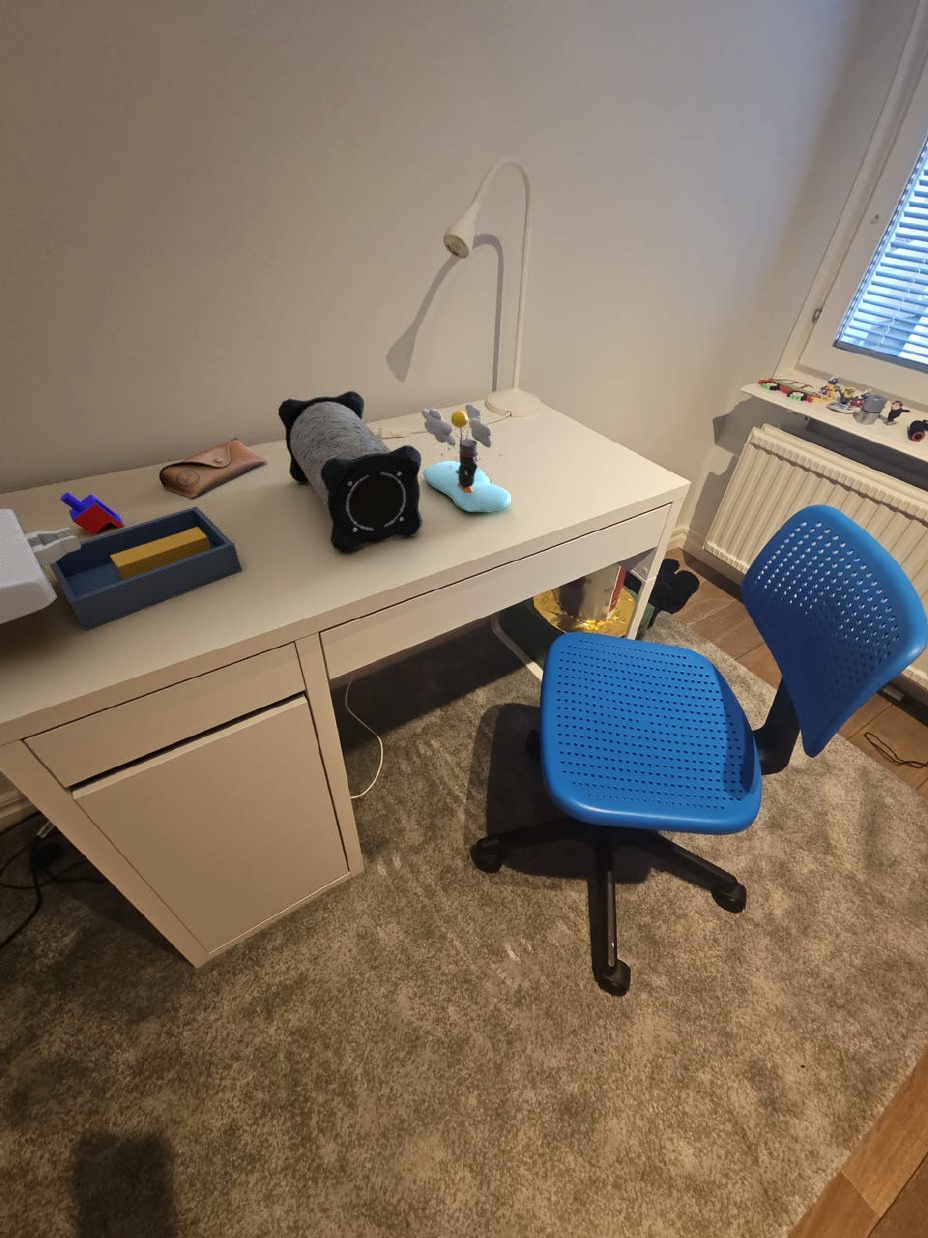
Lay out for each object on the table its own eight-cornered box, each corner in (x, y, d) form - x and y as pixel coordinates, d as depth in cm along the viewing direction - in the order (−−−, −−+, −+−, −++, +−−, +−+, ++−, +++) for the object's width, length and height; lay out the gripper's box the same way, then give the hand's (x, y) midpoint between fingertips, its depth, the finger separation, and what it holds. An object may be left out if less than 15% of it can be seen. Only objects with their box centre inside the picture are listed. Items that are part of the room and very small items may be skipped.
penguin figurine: (519, 509, 95) (529, 424, 85) (467, 524, 90) (471, 436, 80) (462, 464, 108) (465, 386, 98) (414, 475, 103) (412, 394, 93)
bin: (85, 631, 68) (69, 602, 65) (58, 580, 75) (43, 553, 72) (242, 570, 79) (234, 544, 76) (205, 531, 86) (196, 505, 83)
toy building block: (98, 532, 88) (51, 498, 81) (119, 515, 88) (74, 480, 82) (102, 542, 86) (55, 508, 79) (123, 524, 86) (78, 490, 80)
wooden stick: (117, 567, 72) (207, 536, 78) (109, 555, 73) (197, 526, 80) (127, 587, 74) (213, 556, 80) (119, 575, 76) (204, 546, 82)
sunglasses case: (194, 498, 93) (170, 461, 90) (176, 507, 97) (153, 473, 95) (270, 460, 105) (250, 427, 102) (251, 470, 109) (232, 438, 107)
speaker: (366, 465, 106) (359, 386, 96) (426, 537, 87) (425, 448, 77) (289, 479, 100) (273, 397, 90) (336, 559, 81) (322, 466, 72)
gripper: (-56, 560, 68) (67, 525, 76) (-32, 647, 57) (110, 595, 64) (-88, 517, 64) (45, 483, 71) (-69, 601, 53) (87, 551, 60)
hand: (76, 537), depth 68 cm, fingers closed
